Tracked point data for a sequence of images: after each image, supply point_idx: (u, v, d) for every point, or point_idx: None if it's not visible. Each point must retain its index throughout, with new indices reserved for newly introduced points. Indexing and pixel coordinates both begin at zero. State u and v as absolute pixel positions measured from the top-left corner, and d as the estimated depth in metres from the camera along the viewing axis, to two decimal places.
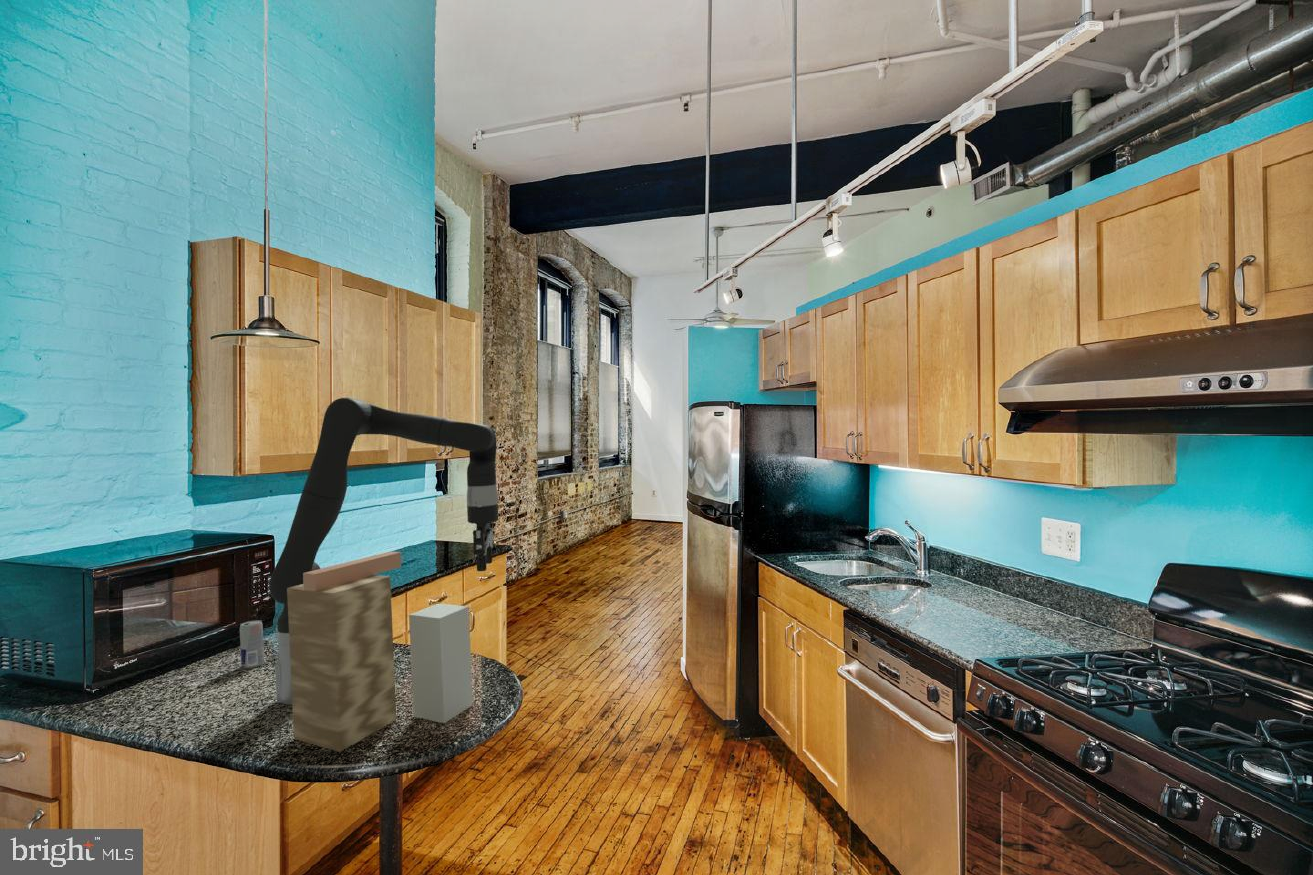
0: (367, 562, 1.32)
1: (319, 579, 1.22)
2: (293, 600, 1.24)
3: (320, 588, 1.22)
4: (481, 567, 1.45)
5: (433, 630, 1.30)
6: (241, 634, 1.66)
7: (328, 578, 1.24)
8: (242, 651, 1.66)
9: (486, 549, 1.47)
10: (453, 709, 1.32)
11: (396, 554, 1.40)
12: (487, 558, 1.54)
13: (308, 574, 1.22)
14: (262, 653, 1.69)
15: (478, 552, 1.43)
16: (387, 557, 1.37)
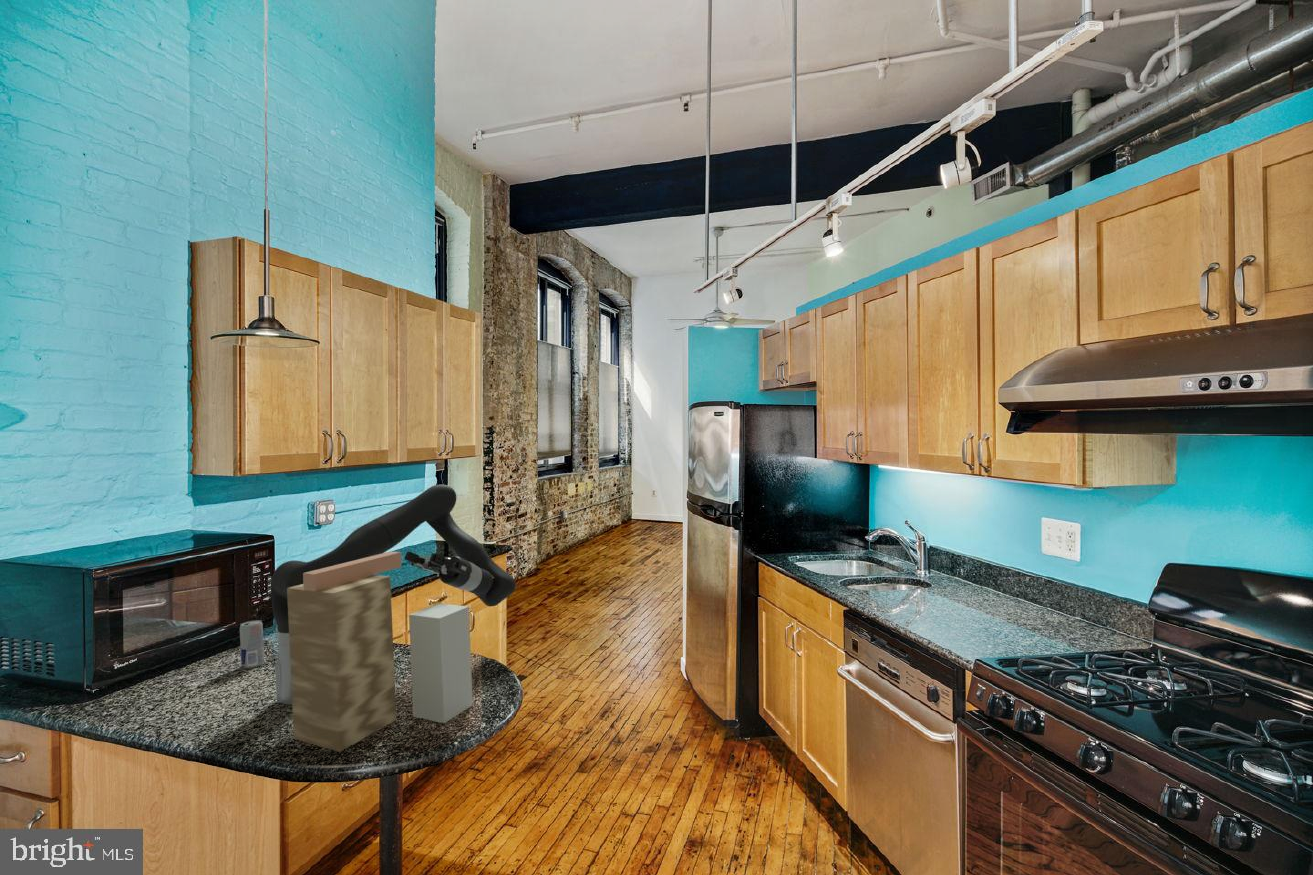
0: (367, 562, 1.32)
1: (319, 579, 1.22)
2: (293, 600, 1.24)
3: (320, 588, 1.22)
4: (437, 559, 1.47)
5: (433, 630, 1.30)
6: (241, 634, 1.66)
7: (328, 578, 1.24)
8: (242, 651, 1.66)
9: (442, 567, 1.50)
10: (453, 709, 1.32)
11: (396, 554, 1.40)
12: (411, 556, 1.51)
13: (308, 574, 1.22)
14: (262, 653, 1.69)
15: (454, 563, 1.49)
16: (387, 557, 1.37)
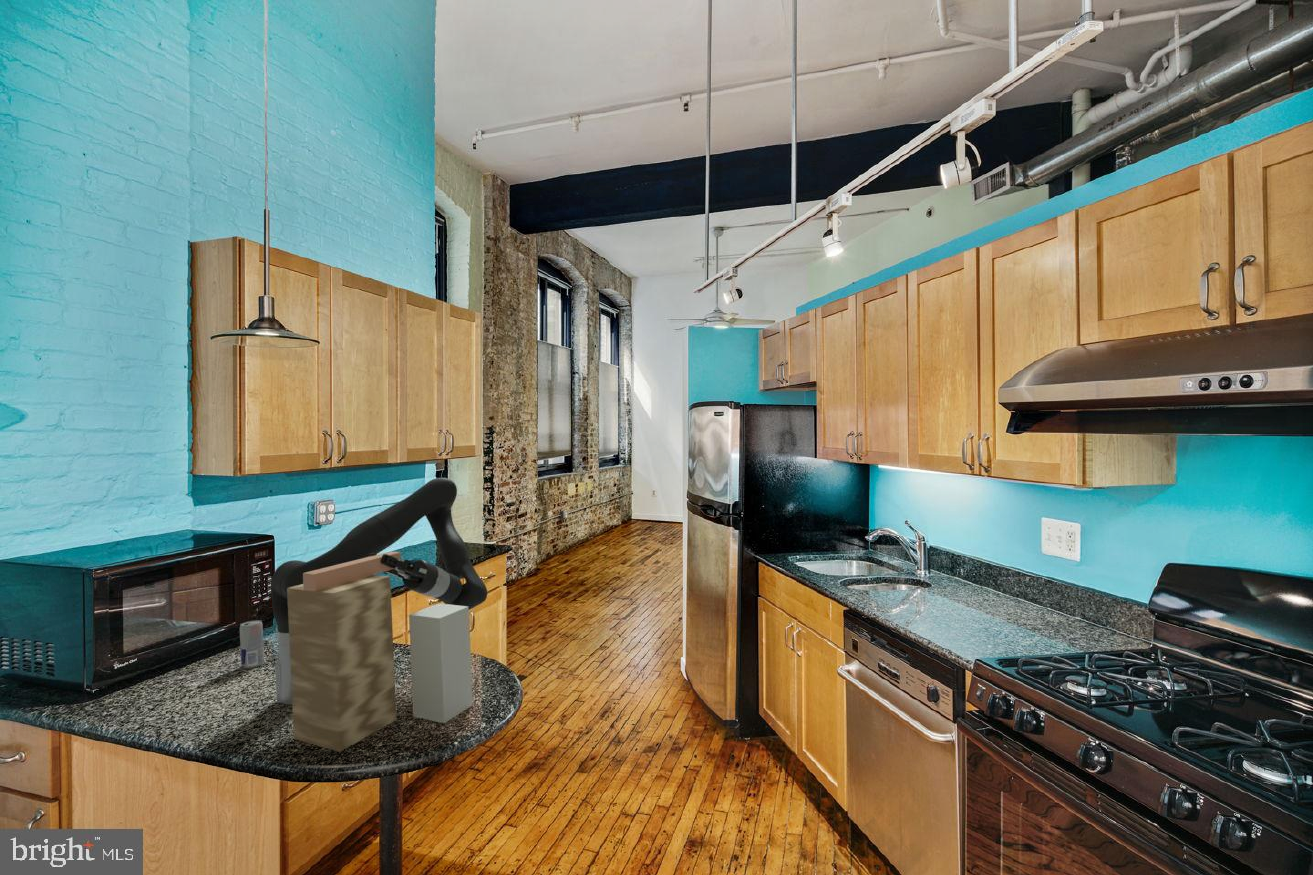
0: (367, 562, 1.32)
1: (319, 579, 1.22)
2: (293, 600, 1.24)
3: (320, 588, 1.22)
4: (388, 560, 1.36)
5: (433, 630, 1.30)
6: (241, 634, 1.66)
7: (328, 578, 1.24)
8: (242, 651, 1.66)
9: (397, 570, 1.40)
10: (453, 709, 1.32)
11: (396, 554, 1.40)
12: None
13: (308, 574, 1.22)
14: (262, 653, 1.69)
15: (407, 565, 1.39)
16: None
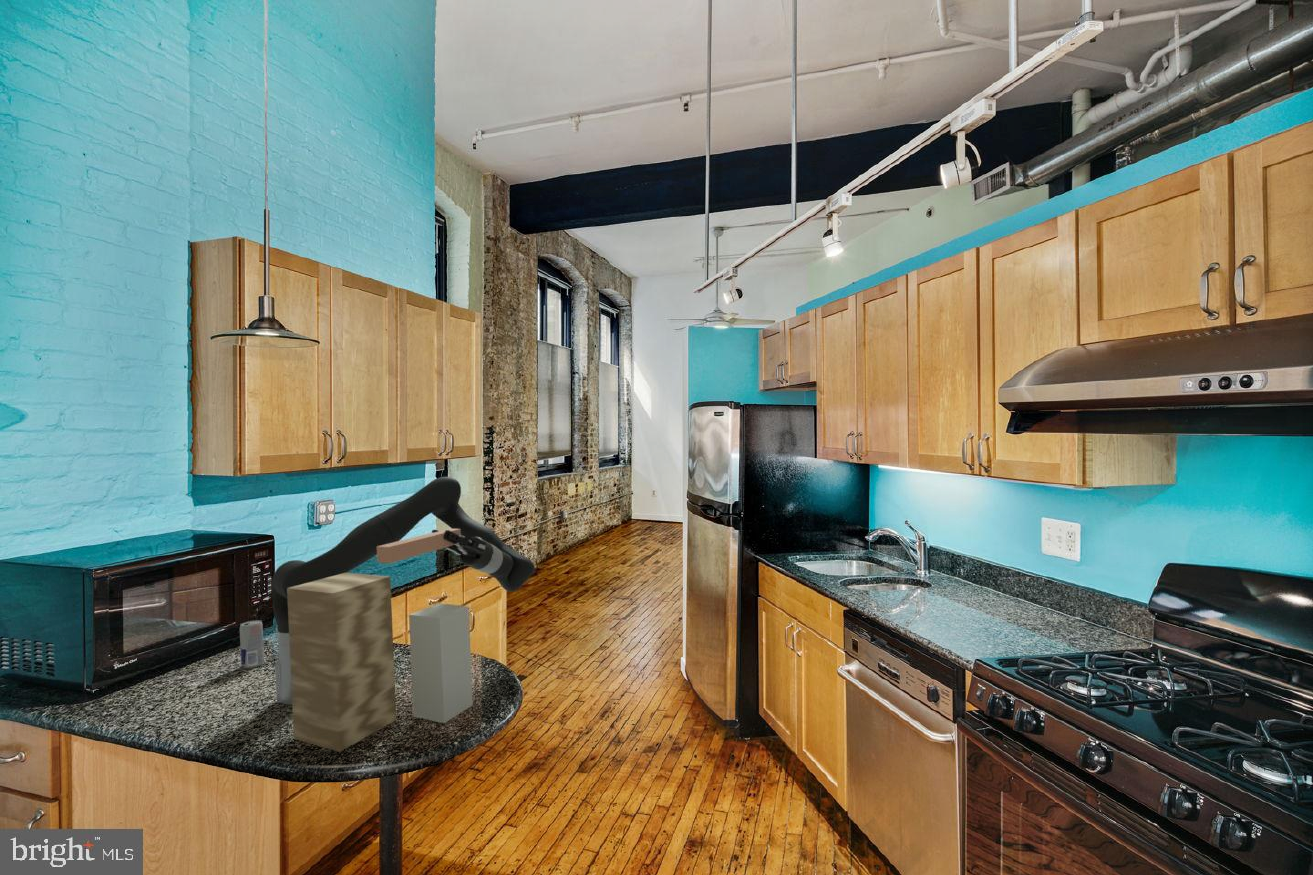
0: (432, 537, 1.38)
1: (392, 552, 1.28)
2: (293, 600, 1.24)
3: (393, 560, 1.28)
4: (451, 536, 1.42)
5: (433, 630, 1.30)
6: (241, 634, 1.66)
7: (400, 552, 1.30)
8: (242, 651, 1.66)
9: (457, 546, 1.46)
10: (453, 709, 1.32)
11: (456, 530, 1.46)
12: None
13: (382, 547, 1.28)
14: (262, 653, 1.69)
15: (468, 541, 1.45)
16: None
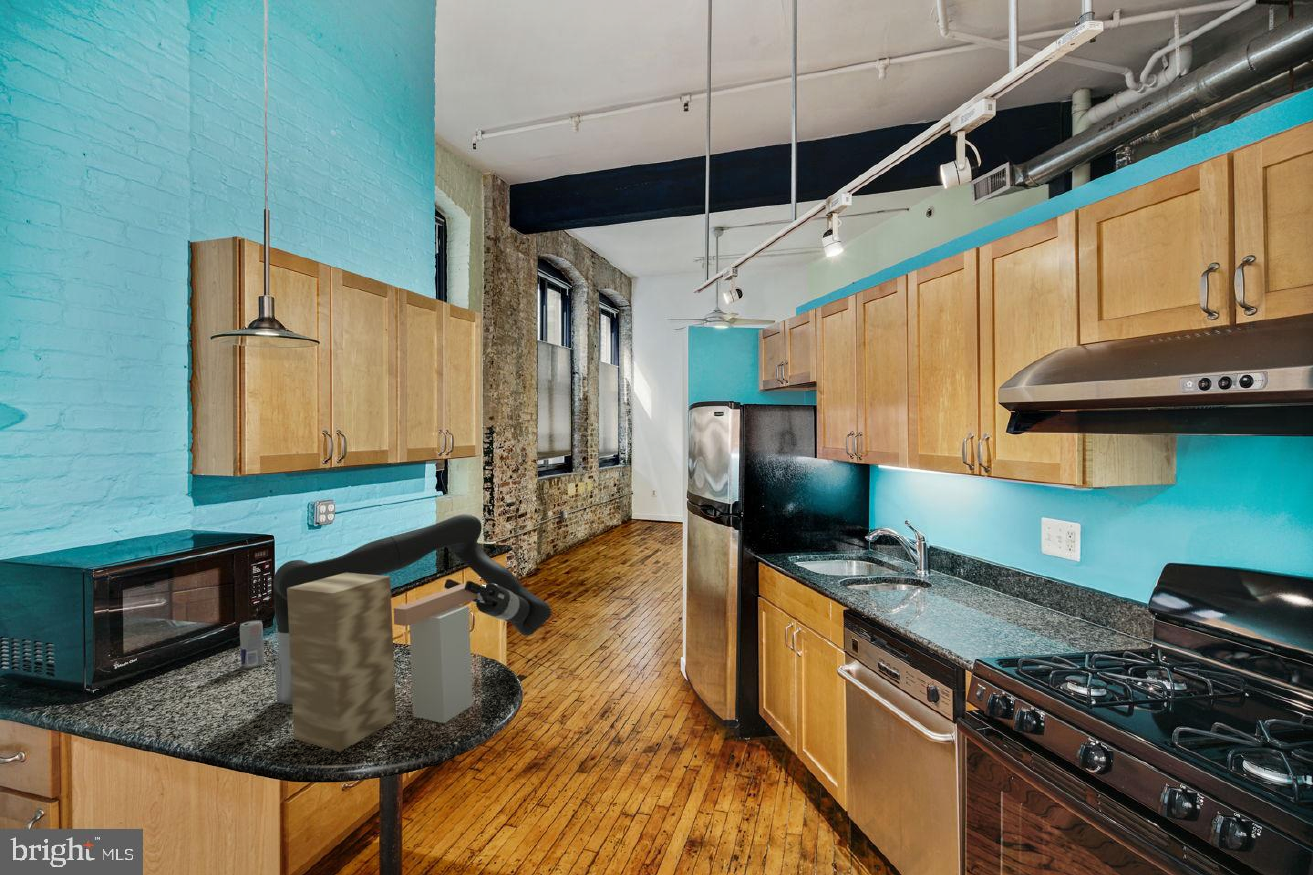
0: (449, 595, 1.36)
1: (409, 614, 1.26)
2: (293, 600, 1.24)
3: (410, 623, 1.26)
4: (472, 586, 1.40)
5: (433, 630, 1.30)
6: (241, 634, 1.66)
7: (417, 613, 1.28)
8: (242, 651, 1.66)
9: (477, 595, 1.43)
10: (453, 709, 1.32)
11: None
12: (451, 584, 1.43)
13: (399, 609, 1.26)
14: (262, 653, 1.69)
15: (489, 591, 1.42)
16: None
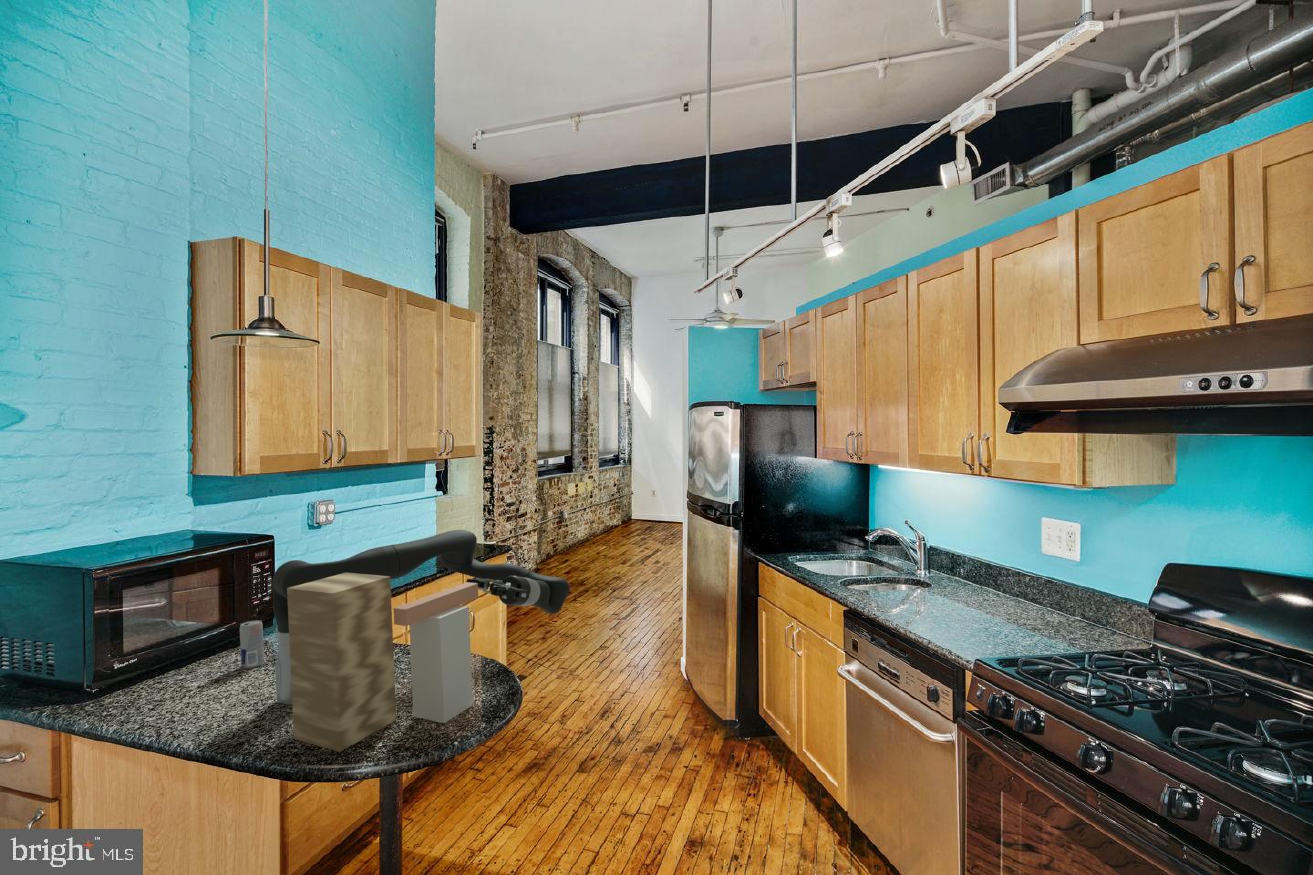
0: (449, 595, 1.36)
1: (409, 614, 1.26)
2: (293, 600, 1.24)
3: (410, 623, 1.26)
4: (498, 592, 1.45)
5: (433, 630, 1.30)
6: (241, 634, 1.66)
7: (417, 613, 1.28)
8: (242, 651, 1.66)
9: None
10: (453, 709, 1.32)
11: (474, 585, 1.44)
12: None
13: (399, 609, 1.26)
14: (262, 653, 1.69)
15: (514, 594, 1.47)
16: (466, 589, 1.41)
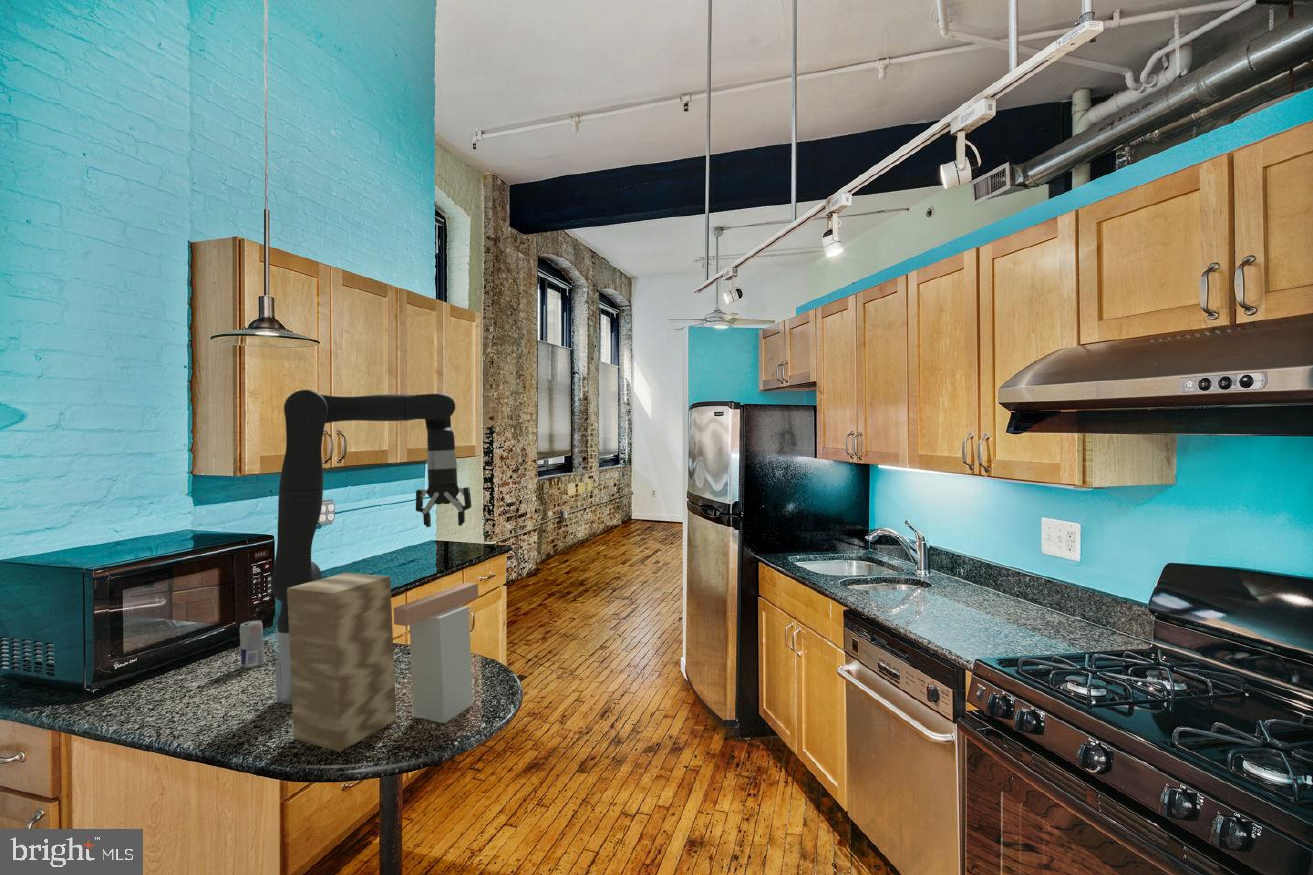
0: (449, 595, 1.36)
1: (409, 614, 1.26)
2: (293, 600, 1.24)
3: (410, 623, 1.26)
4: (464, 521, 1.63)
5: (433, 630, 1.30)
6: (241, 634, 1.66)
7: (417, 613, 1.28)
8: (242, 651, 1.66)
9: None
10: (453, 709, 1.32)
11: (474, 585, 1.44)
12: (429, 521, 1.62)
13: (399, 609, 1.26)
14: (262, 653, 1.69)
15: (470, 506, 1.63)
16: (466, 589, 1.41)
